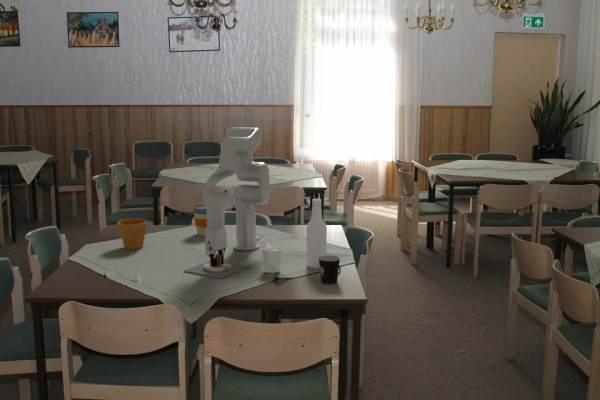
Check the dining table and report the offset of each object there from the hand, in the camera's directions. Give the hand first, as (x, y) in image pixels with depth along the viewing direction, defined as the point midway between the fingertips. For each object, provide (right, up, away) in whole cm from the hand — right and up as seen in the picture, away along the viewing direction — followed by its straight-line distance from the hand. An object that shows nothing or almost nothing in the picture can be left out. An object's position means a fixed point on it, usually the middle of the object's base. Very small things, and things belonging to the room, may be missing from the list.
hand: (217, 264), depth 270 cm
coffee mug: (+48, -6, -18) cm, 52 cm away
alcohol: (+43, -1, +5) cm, 44 cm away
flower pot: (-46, +5, +37) cm, 60 cm away
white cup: (+24, -3, -2) cm, 24 cm away
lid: (0, -1, 0) cm, 1 cm away
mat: (0, -2, 0) cm, 2 cm away
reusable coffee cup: (-14, +10, +63) cm, 66 cm away
